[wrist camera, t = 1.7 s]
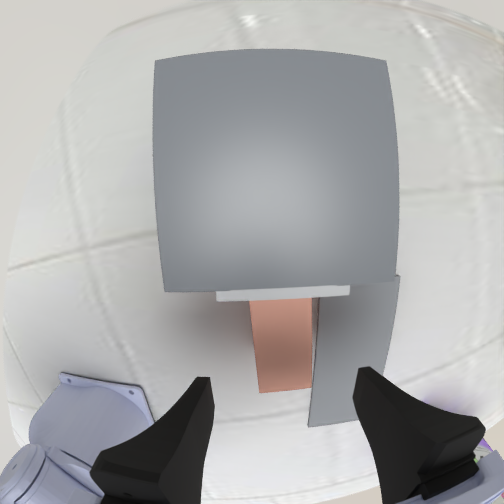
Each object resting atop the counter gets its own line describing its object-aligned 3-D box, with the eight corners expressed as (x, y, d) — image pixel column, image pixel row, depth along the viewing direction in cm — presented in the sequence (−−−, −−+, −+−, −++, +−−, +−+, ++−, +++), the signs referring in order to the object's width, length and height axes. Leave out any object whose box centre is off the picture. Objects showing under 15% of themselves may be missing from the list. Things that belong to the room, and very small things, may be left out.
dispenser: (195, 262, 18) (166, 301, 11) (187, 101, 15) (155, 60, 9) (349, 256, 18) (393, 291, 11) (344, 98, 15) (385, 60, 9)
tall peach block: (258, 348, 19) (259, 393, 15) (242, 190, 17) (237, 191, 12) (299, 344, 19) (311, 387, 14) (290, 186, 17) (305, 186, 12)
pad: (307, 425, 21) (308, 427, 21) (319, 280, 18) (320, 282, 18) (369, 415, 21) (370, 417, 21) (398, 275, 18) (400, 276, 18)
